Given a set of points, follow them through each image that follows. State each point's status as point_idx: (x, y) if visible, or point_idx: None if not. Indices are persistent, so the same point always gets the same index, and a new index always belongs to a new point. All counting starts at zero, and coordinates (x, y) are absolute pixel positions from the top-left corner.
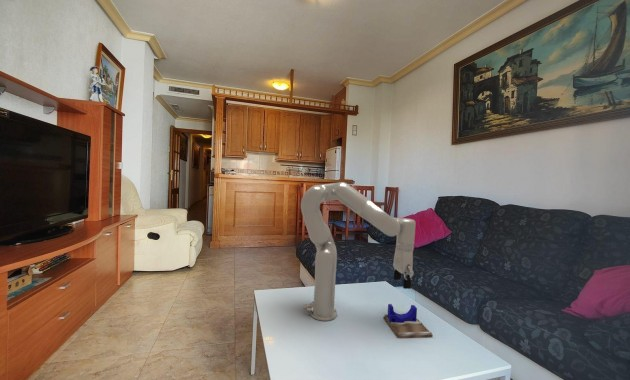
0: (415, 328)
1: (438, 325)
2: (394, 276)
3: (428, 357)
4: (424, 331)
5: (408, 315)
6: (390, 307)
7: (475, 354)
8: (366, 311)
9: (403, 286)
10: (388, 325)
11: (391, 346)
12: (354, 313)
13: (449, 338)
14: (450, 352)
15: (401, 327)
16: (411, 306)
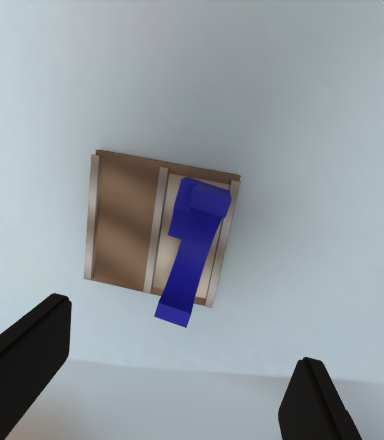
0: (129, 249)
1: (148, 343)
2: (321, 393)
3: (3, 188)
4: (107, 266)
5: (178, 267)
6: (193, 189)
7: (10, 324)
8: (322, 126)
9: (43, 302)
10: (183, 165)
11: (60, 95)
12: (326, 46)
13: (80, 318)
14: (21, 268)
15: (144, 200)
16: (186, 308)
